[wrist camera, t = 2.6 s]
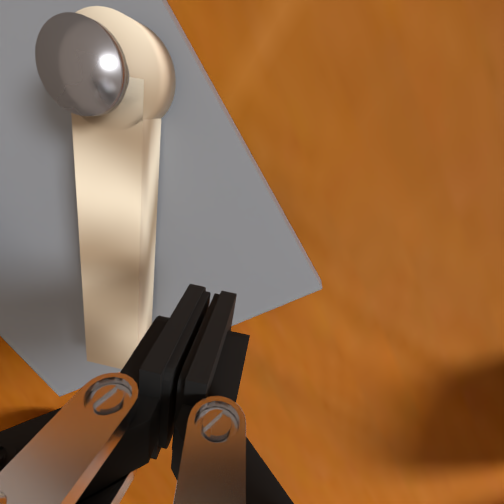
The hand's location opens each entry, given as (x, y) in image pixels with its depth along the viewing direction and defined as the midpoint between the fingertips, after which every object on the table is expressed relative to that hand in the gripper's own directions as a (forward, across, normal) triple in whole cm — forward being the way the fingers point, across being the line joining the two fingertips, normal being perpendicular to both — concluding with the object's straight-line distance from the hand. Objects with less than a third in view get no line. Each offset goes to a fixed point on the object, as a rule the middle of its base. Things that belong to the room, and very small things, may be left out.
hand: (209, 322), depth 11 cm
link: (+7, +6, 0) cm, 9 cm away
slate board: (+8, +10, +1) cm, 13 cm away
